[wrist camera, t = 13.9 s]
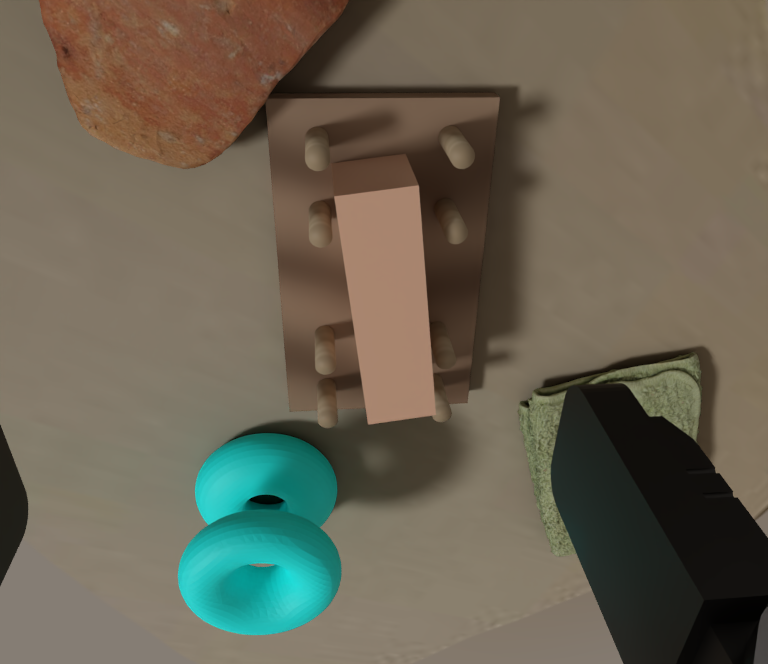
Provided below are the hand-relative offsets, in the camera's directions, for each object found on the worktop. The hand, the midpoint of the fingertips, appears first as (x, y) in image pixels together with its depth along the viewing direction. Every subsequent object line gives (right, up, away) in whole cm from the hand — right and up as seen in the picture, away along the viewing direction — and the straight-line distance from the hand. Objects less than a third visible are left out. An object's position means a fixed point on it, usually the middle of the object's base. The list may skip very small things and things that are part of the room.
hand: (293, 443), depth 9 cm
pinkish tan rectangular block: (+1, +5, +29) cm, 29 cm away
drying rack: (+1, +6, +30) cm, 30 cm away
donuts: (-7, -9, +38) cm, 40 cm away
